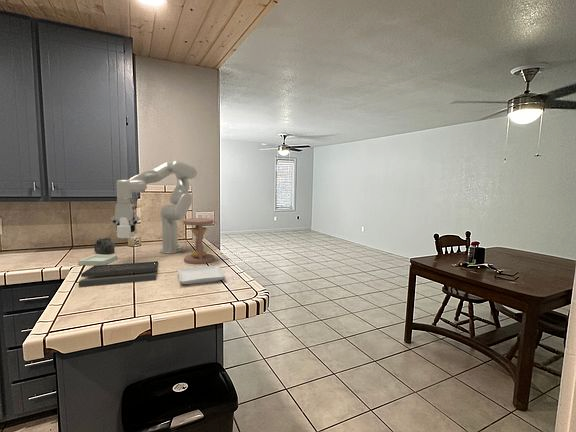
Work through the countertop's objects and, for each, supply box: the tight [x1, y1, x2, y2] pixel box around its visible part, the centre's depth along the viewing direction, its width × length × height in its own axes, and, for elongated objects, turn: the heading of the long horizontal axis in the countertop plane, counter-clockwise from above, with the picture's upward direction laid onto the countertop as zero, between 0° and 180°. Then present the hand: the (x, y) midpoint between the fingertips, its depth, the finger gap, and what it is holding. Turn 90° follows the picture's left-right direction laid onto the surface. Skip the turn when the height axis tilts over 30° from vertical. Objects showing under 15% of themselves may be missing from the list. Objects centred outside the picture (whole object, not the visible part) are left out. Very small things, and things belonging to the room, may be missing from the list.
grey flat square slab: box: [177, 265, 226, 285], centre depth 150 cm, size 21×21×3 cm
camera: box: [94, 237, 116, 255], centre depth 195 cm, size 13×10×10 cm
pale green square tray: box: [77, 254, 118, 266], centre depth 174 cm, size 14×14×2 cm
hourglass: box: [182, 217, 215, 265], centre depth 182 cm, size 18×18×25 cm
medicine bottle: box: [116, 218, 135, 239], centre depth 175 cm, size 7×7×12 cm
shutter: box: [78, 260, 159, 288], centre depth 154 cm, size 32×7×31 cm
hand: (125, 231), depth 175 cm, fingers closed on medicine bottle, 7 cm apart
